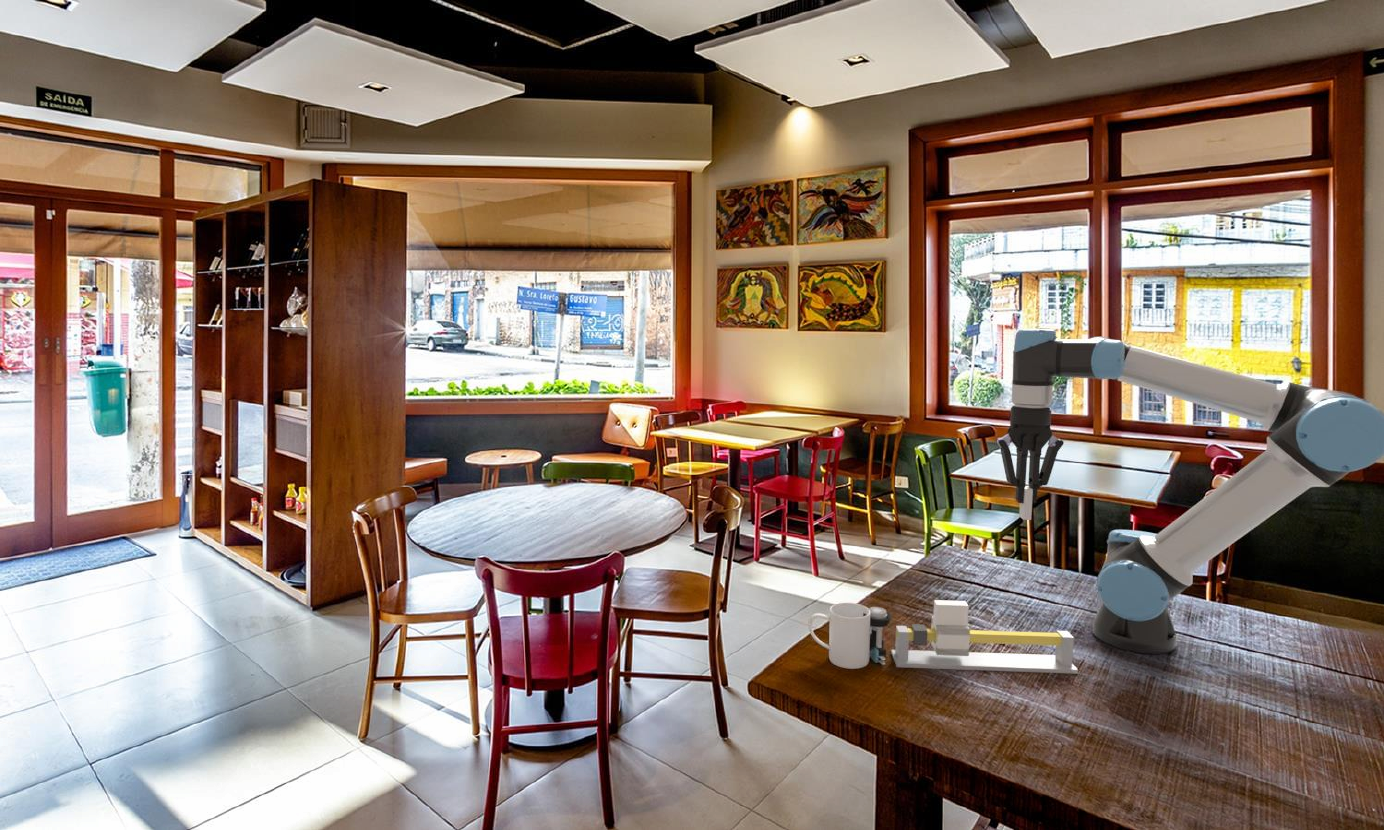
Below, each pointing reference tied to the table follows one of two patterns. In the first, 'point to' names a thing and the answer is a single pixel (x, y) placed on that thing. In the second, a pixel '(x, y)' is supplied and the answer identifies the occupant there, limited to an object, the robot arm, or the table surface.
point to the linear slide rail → (986, 658)
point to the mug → (847, 635)
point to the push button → (877, 633)
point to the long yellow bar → (987, 636)
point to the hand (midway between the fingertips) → (1025, 517)
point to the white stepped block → (951, 628)
